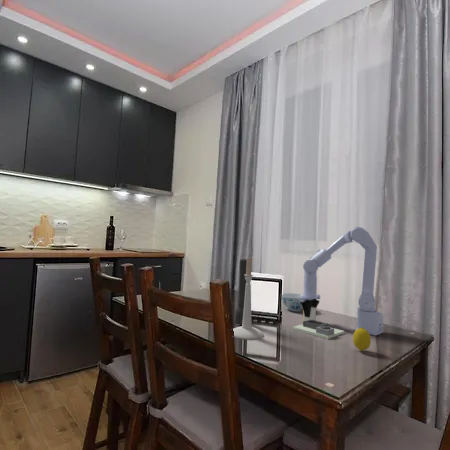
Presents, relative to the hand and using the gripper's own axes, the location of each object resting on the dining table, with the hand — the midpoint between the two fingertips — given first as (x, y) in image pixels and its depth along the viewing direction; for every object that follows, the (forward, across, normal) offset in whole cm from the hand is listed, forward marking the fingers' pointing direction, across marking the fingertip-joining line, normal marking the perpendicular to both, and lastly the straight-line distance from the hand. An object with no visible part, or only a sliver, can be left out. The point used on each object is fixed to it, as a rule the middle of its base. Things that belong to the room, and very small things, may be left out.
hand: (309, 316), depth 141 cm
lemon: (+3, +18, +32) cm, 37 cm away
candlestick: (+3, +37, -4) cm, 37 cm away
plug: (+3, 0, 0) cm, 3 cm away
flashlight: (+3, +27, -16) cm, 32 cm away
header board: (+3, +9, +10) cm, 14 cm away
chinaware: (+3, -17, -20) cm, 26 cm away
